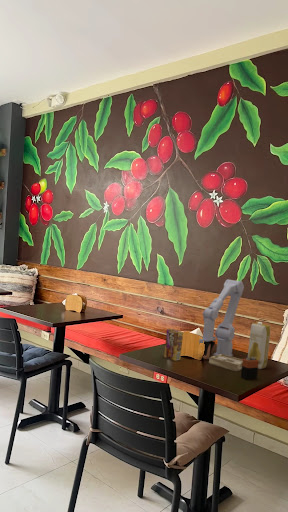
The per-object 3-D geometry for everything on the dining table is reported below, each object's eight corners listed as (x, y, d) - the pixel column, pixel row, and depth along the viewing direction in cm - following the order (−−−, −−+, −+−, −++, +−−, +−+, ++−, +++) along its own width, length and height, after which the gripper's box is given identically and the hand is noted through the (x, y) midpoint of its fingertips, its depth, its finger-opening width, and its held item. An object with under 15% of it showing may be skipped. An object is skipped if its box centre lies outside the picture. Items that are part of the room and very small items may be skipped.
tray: (221, 360, 232) (221, 353, 231) (247, 367, 221) (248, 360, 221) (208, 363, 222) (209, 357, 221) (236, 371, 211) (237, 364, 211)
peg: (204, 357, 235) (206, 342, 235) (210, 358, 233) (211, 344, 233) (201, 357, 232) (202, 343, 232) (207, 359, 230) (208, 345, 230)
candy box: (181, 360, 223) (183, 331, 223) (175, 361, 220) (177, 332, 220) (169, 356, 230) (172, 328, 230) (163, 356, 227) (166, 328, 227)
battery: (257, 379, 202) (259, 358, 202) (246, 380, 199) (248, 359, 198) (250, 376, 206) (252, 356, 205) (240, 377, 202) (242, 356, 202)
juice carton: (245, 365, 225) (249, 320, 225) (252, 363, 231) (256, 320, 231) (261, 370, 219) (265, 324, 218) (268, 367, 225) (272, 323, 224)
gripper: (209, 327, 240) (206, 351, 241) (195, 330, 229) (193, 354, 229) (220, 330, 236) (217, 354, 236) (206, 332, 225) (204, 357, 225)
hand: (206, 354), depth 232 cm, fingers closed on peg, 4 cm apart
